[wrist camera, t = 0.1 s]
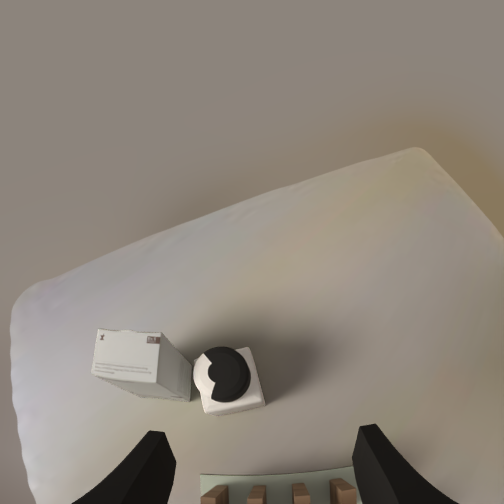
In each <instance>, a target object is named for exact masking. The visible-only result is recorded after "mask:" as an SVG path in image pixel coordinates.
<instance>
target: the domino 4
mask: <svg viewBox="0 0 504 504" xmlns="http://www.w3.org/2000/svg"><path fill="white" fill-rule="evenodd" d="M329 483H330V504H357V494H356V488H355V487H353V486H352V485H351V484H349V483H348V482H346V481H345V480H343V479H342V478H338V479H331V480H329Z"/></svg>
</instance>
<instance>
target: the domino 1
mask: <svg viewBox="0 0 504 504" xmlns="http://www.w3.org/2000/svg"><path fill="white" fill-rule="evenodd" d="M201 504H229V491H228V485H216V486H215V487H213V488H212V489H211V490H209V491H208V492H207V493H205V494H204V495H203V496H201Z"/></svg>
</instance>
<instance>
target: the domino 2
mask: <svg viewBox="0 0 504 504" xmlns="http://www.w3.org/2000/svg"><path fill="white" fill-rule="evenodd" d="M247 504H267V499H266V485H258V486H253V488H252V490H251V492H250V494H249V496H248V498H247Z"/></svg>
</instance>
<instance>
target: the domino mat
mask: <svg viewBox="0 0 504 504" xmlns="http://www.w3.org/2000/svg"><path fill="white" fill-rule="evenodd" d="M338 478H342V479H343V480H345V481H346V482H348V483H349V484H351V485H352V486H353V487H355V488H356V494H357V504H362V501H361V497H360V494H359V490H358V487H357V483H356V480H355V473H354V467H353V466H350V467H344V468H337V469H330V470H323V471H315V472H305V473H294V474H280V475H255V476H228V475H203V474H200V483H201V496H203V495H204V494H205V493H207V492H208V491H209V490H211V489H212V488H213V487H215V486H216V485H228V491H229V504H247V498H248V496H249V494H250V492H251V490H252V488H253V486H258V485H266V499H267V504H293V502H292V484H295V483H304V484H305V486H306V488H307V490H308V492H309V494H310V504H330V483H329V480H331V479H338Z"/></svg>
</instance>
